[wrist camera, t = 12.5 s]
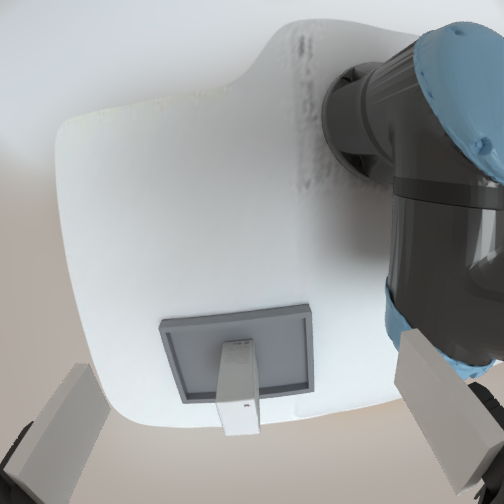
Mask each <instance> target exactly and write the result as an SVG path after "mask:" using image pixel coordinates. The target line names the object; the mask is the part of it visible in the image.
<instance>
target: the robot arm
mask: <svg viewBox="0 0 504 504" xmlns="http://www.w3.org/2000/svg"><path fill="white" fill-rule="evenodd" d="M322 126H323V131H324V135H325V138H326V141H327V143H328V145H329V147H330V149H331V151H332V153H333V154H334V156H335V157H336V158H337V160H338V161H339V162H340V163H341V164H342V165H343V166H344V167H345V168H346V169H347V170H349V171H350V172H351V173H353V174H354V175H356V176H358V177H360V178H362V179H364V180H367V181H371V182H375V183H381V184H393V212H392V236H391V252H390V264H389V274H388V276H387V278H386V284H385V293H386V312H385V326H386V330H387V333H388V336H389V337H390V339H391V340H392V341H393V344H394V346H395V348H396V349H397V351H398V352H399V354H398V361H397V368H396V374H395V380H394V384H395V385H396V387H397V389H398V390H399V392H400V394H401V396H402V397H403V399H404V401H405V402H406V404H407V406H408V408H409V409H410V411H411V412H412V414H413V416H414V418H415V420H416V421H417V423H418V425H419V427H420V429H421V430H422V432H423V434H424V436H425V437H426V439H427V441H428V443H429V445H430V447H431V448H432V450H433V452H434V454H435V456H436V458H437V460H438V461H439V463H440V465H441V467H442V469H443V471H444V473H445V475H446V476H447V479H448V480H449V482H450V484H451V486H452V488H453V490H454V492H455V494H456V496H458V495H460V494H462V493H464V492H466V491H468V490H470V489H472V488H474V487H475V486H476V485H477V483H478V482H479V480H480V479H481V478H482V479H483V481H484V483H485V484H484V485H483V486H482V488H481V489H480V490H479V492H478V493H477V494H476V496H475V498H474V499H477V498H478V497H479V496H480V498H479V502H478V504H504V408H503V407H502V406H500V403H499V402H498V401H497V399H494V396H493V395H492V394H491V393H490V391H489V390H488V389H487V388H486V387H484V386H482V385H481V384H479V383H477V382H473V383H471V384H469V385H467V384H466V383H465V382H464V381H463V380H466V379H467V378H468V377H469V376H470V377H471V378H477V377H480V376H481V375H483V374H484V373H486V372H487V371H488V369H489V368H490V367H492V366H493V364H494V362H495V361H496V359H497V360H501V361H504V37H502V36H501V35H499V34H498V33H497V32H495V31H493V30H492V29H489V28H488V27H485V26H483V25H480V24H477V23H472V22H455V23H451V24H449V25H446V26H444V27H442V28H439V29H437V30H432V31H429V32H427V33H425V34H423V35H422V36H421V37H419V39H418V40H417V41H415V42H414V43H412V44H411V45H409V46H408V47H406V48H405V49H403V50H402V51H400V52H399V53H398V54H396V55H395V56H393V57H392V58H390V59H389V60H388V61H386V62H385V63H378V62H371V63H364V64H360V65H357V66H354V67H352V68H350V69H348V70H347V71H345V72H344V73H343V74H342V75H341V76H339V77H338V78H337V79H336V80H335V81H334V82H333V84H332V85H331V86H330V88H329V90H328V91H327V93H326V96H325V98H324V102H323V107H322ZM110 410H111V409H110V407H109V405H108V403H107V401H106V399H105V397H104V395H103V393H102V391H101V389H100V387H99V384H98V382H97V380H96V378H95V376H94V374H93V371H92V369H91V367H90V365H89V364H75V365H74V367H73V368H72V369H71V371H70V372H69V373H68V375H67V376H66V378H65V379H64V380H63V381H62V383H61V384H60V386H59V387H58V388H57V390H56V391H55V393H54V394H53V395H52V397H51V398H50V400H49V401H48V403H47V404H46V405H45V407H44V408H43V410H42V411H41V413H40V414H39V415H38V417H37V418H36V420H35V421H34V422H33V421H32V422H31V423H30V424H28V425H27V426H26V427H25V428H24V429H23V430H22V431H21V433H20V434H19V436H18V439H16V441H15V442H14V445H12V446H11V448H10V449H9V451H8V453H7V454H6V456H5V457H4V459H3V461H2V462H1V464H0V504H68V503H69V500H70V498H71V496H72V494H73V491H74V489H75V487H76V484H77V482H78V480H79V477H80V475H81V473H82V470H83V468H84V466H85V463H86V462H87V459H88V457H89V455H90V453H91V451H92V448H93V446H94V444H95V442H96V440H97V438H98V435H99V433H100V431H101V429H102V427H103V425H104V423H105V420H106V419H107V417H108V414H109V412H110Z"/></svg>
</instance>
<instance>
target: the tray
mask: <svg viewBox="0 0 504 504" xmlns="http://www.w3.org/2000/svg"><path fill="white" fill-rule="evenodd" d="M159 332H160V335H161V339H162V342H163V345H164V348H165V352H166V355H167V358H168V361H169V364H170V368H171V371H172V374H173V377H174V380H175V383H176V385H177V388H178V391H179V394H180V397H181V400H182V403H183V404H190V403H215V401H216V393H217V385H218V377H219V370H220V362H221V355H222V347H223V343H224V342H233V341H243V340H253V341H254V348H255V354H256V361H257V367H258V380H259V399H264V398H273V397H281V396H289V395H296V394H303V393H309V392H314V357H313V331H312V311H311V309H310V306H309V304H305V305H298V306H290V307H283V308H275V309H267V310H259V311H251V312H242V313H233V314H223V315H214V316H203V317H193V318H181V319H169V320H162V322H161V324H160V326H159Z"/></svg>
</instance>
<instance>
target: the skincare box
mask: <svg viewBox="0 0 504 504" xmlns="http://www.w3.org/2000/svg"><path fill="white" fill-rule="evenodd" d="M215 403H216V407H217V411H218V414H219V417H220V420H221V423H222V426H223V429H224V433H225V435H226V436H231V435H248V434H260V408H259V380H258V367H257V361H256V354H255V348H254V341H253V340H243V341H233V342H224V343H223V347H222V355H221V362H220V370H219V377H218V385H217V393H216V401H215Z"/></svg>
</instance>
